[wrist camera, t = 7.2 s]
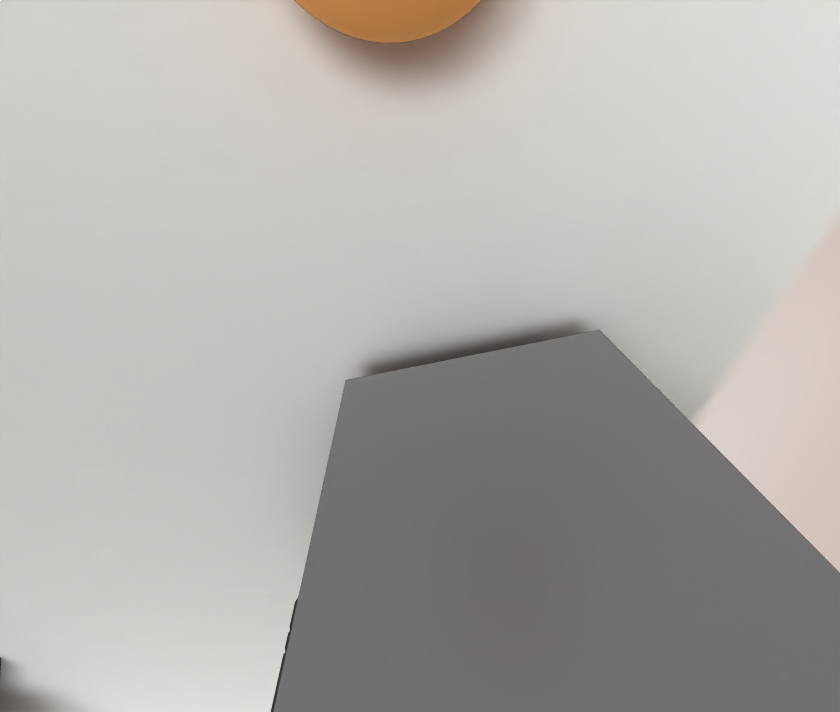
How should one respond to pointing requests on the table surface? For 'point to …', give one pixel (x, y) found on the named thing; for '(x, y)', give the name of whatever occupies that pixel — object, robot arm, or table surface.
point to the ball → (388, 17)
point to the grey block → (549, 552)
